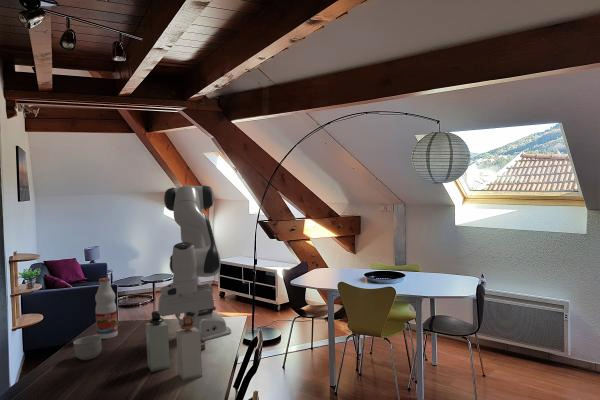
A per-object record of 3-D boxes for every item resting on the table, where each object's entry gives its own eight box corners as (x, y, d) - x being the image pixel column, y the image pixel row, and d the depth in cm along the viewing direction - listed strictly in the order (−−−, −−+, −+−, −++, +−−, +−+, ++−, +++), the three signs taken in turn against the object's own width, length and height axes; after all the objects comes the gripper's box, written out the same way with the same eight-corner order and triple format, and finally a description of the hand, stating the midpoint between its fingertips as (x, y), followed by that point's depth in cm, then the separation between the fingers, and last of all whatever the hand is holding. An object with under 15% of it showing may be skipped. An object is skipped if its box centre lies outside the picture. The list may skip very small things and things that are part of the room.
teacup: (91, 362, 201) (90, 343, 200) (68, 362, 203) (67, 342, 203) (111, 351, 214) (110, 332, 214) (89, 350, 216) (88, 332, 216)
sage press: (165, 362, 197) (163, 320, 197) (169, 367, 191) (167, 324, 191) (147, 366, 194) (145, 323, 193) (151, 371, 188) (149, 327, 187)
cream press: (196, 370, 187) (194, 326, 186) (202, 376, 181) (199, 331, 180) (178, 374, 184) (176, 329, 183) (183, 381, 178) (181, 334, 177)
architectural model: (206, 351, 210) (205, 334, 209) (190, 355, 206) (189, 337, 206) (203, 349, 212) (203, 332, 212) (188, 352, 209) (187, 335, 209)
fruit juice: (117, 332, 242) (114, 275, 241) (118, 337, 234) (115, 279, 233) (97, 335, 239) (93, 278, 238) (96, 340, 230) (93, 281, 229)
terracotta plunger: (194, 362, 186) (192, 314, 185) (198, 366, 181) (196, 317, 181) (180, 365, 183) (178, 316, 183) (184, 369, 179) (182, 319, 178)
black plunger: (163, 354, 196) (161, 309, 195) (166, 358, 191) (164, 312, 191) (150, 357, 194) (147, 311, 193) (152, 361, 189) (150, 314, 188)
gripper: (210, 281, 189) (211, 317, 189) (156, 289, 179) (158, 326, 180) (215, 284, 183) (217, 321, 184) (160, 292, 174) (162, 330, 174)
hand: (187, 323), depth 182 cm, fingers closed on terracotta plunger, 3 cm apart
